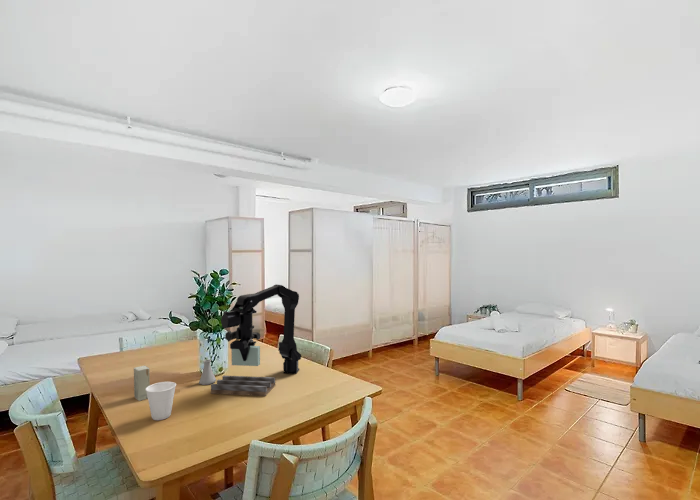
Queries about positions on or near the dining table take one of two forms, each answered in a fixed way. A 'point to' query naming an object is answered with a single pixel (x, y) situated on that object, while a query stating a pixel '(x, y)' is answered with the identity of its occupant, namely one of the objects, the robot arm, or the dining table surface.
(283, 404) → the dining table surface
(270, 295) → the robot arm
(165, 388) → the cup
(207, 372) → the flask
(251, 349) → the door panel
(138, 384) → the skincare box
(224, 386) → the track base
